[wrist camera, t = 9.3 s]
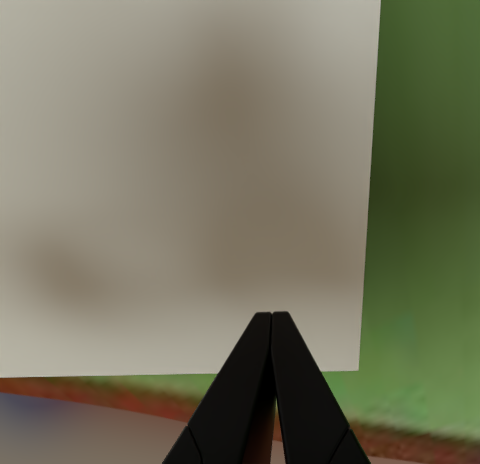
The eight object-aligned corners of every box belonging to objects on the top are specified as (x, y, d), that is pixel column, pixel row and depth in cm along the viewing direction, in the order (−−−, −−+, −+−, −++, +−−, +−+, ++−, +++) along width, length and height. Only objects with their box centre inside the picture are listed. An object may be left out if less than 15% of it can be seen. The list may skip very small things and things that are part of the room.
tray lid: (-89, 365, 18) (-103, 379, 17) (-379, 61, 10) (-424, 64, 10) (354, 354, 15) (358, 370, 14) (375, -82, 8) (386, -91, 7)
